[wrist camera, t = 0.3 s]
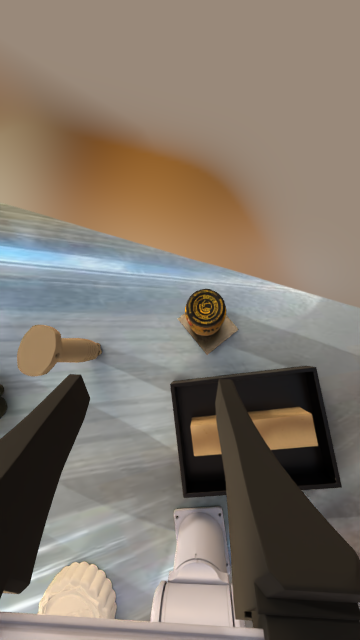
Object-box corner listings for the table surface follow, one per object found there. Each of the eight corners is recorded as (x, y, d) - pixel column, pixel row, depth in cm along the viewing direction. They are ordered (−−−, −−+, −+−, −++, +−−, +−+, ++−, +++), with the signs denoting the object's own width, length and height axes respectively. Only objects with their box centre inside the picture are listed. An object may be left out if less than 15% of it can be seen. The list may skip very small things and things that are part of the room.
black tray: (329, 474, 36) (342, 487, 32) (185, 485, 38) (183, 498, 34) (306, 365, 38) (316, 367, 35) (173, 381, 40) (170, 383, 37)
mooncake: (57, 651, 36) (41, 684, 33) (42, 569, 38) (26, 591, 35) (125, 635, 36) (117, 666, 32) (107, 552, 38) (97, 573, 34)
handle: (111, 337, 43) (61, 331, 28) (100, 370, 42) (44, 381, 27) (88, 330, 43) (28, 320, 29) (77, 362, 43) (10, 369, 28)
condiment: (208, 294, 42) (209, 272, 30) (238, 329, 40) (252, 320, 28) (178, 319, 42) (167, 306, 30) (207, 355, 40) (207, 356, 28)
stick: (304, 434, 36) (318, 446, 32) (195, 444, 38) (194, 456, 34) (299, 406, 37) (311, 414, 33) (192, 417, 39) (190, 425, 34)
